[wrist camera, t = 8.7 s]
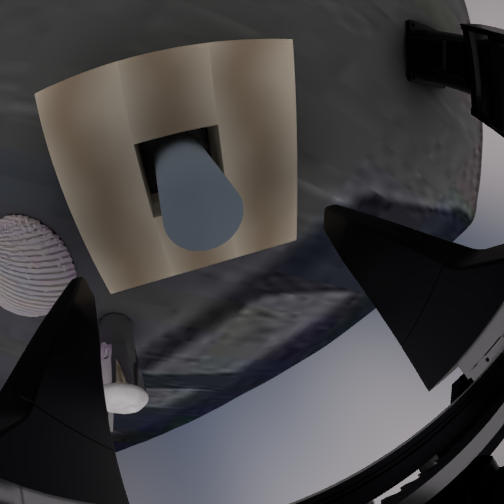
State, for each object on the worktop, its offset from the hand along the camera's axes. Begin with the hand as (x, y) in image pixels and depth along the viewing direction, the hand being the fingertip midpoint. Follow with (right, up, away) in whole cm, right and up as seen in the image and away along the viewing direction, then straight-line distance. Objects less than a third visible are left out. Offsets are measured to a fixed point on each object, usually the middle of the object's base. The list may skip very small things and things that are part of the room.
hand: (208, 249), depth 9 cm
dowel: (-4, +6, +8) cm, 11 cm away
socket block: (-4, +6, +8) cm, 11 cm away
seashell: (-17, -1, +8) cm, 19 cm away
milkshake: (-12, -7, +15) cm, 20 cm away
